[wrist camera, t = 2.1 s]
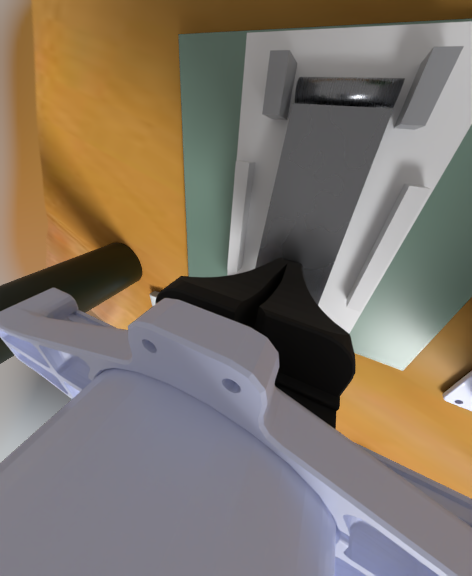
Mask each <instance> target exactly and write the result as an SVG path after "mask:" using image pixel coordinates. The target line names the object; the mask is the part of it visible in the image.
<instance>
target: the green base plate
mask: <svg viewBox="0 0 472 576" xmlns="http://www.w3.org/2000/svg"><path fill="white" fill-rule="evenodd" d="M178 35H179V59H180V82H181V106H182V129H183V153H184V176H185V200H186V223H187V247H188V270H189V277H220V276H227V275H234V274H239V273H243V272H247V271H250V270H252V269H255V266H256V262H257V257H258V253H259V249H260V244H261V240H262V235H263V231H264V227H265V222H266V218H267V214H268V209H269V205H270V201H271V196H272V192H273V187H274V183H275V179H276V174H277V170H278V166H279V161H280V157H281V152H282V148H283V144H284V139H285V135H286V131H287V126H288V122H289V117H290V113H291V109H292V104H293V103H295V91H296V86H297V82H298V79H299V77H364V78H405V80H404V83H403V86H402V88H401V91H400V93H399V96H398V98H397V101H396V103H395V105H394V107H393V112H392V114H391V117H390V119H389V122H388V125H387V127H386V130H385V132H384V135H383V138H382V140H381V143H380V145H379V148H378V151H377V153H376V156H375V158H374V161H373V164H372V166H371V169H370V171H369V174H368V177H367V179H366V182H365V184H364V187H363V190H362V192H361V195H360V197H359V200H358V203H357V205H356V208H355V210H354V213H353V216H352V218H351V221H350V223H349V226H348V229H347V231H346V234H345V236H344V239H343V242H342V244H341V247H340V249H339V252H338V255H337V257H336V260H335V262H334V265H333V268H332V270H331V273H330V275H329V278H328V281H327V283H326V286H325V288H324V291H323V294H322V296H321V299H320V301H319V304H318V306H319V307H320V308H321V310H322V311H323V312H324V313H325V314H326V315H327V316H328V317H329V318H330V319H331V320H332V321H334V322H335V323H336V324H337V325H339V326H340V327H341V328H343V329H344V330H345V331H346V332H348V333H349V334H350V336H351V340H352V345H353V349H354V353H356V354H359V355H362V356H364V357H367V358H370V359H372V360H375V361H378V362H381V363H383V364H386V365H389V366H391V367H394V368H397V369H399V370H402V371H403V370H404V369H405V368H406V367H407V366H408V365H409V364H410V362H411V361H412V360H413V359H414V358H415V357H416V356H417V355H418V354H419V353H420V352H421V351H422V350H423V349H424V347H425V346H426V345H427V344H428V343H429V342H430V341H431V340H432V339H433V338H434V337H435V336H436V335H437V334H438V332H439V331H440V330H441V329H442V328H443V327H444V326H445V325H446V324H447V323H448V322H449V321H450V320H451V319H452V317H453V316H454V315H455V314H456V313H457V312H458V311H459V310H460V309H461V308H462V307H463V306H464V305H465V304H466V302H467V301H468V300H469V299H470V298H471V297H472V19H455V20H436V21H417V22H399V23H380V24H362V25H343V26H325V27H306V28H288V29H269V30H250V31H232V32H213V33H195V34H178Z"/></svg>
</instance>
